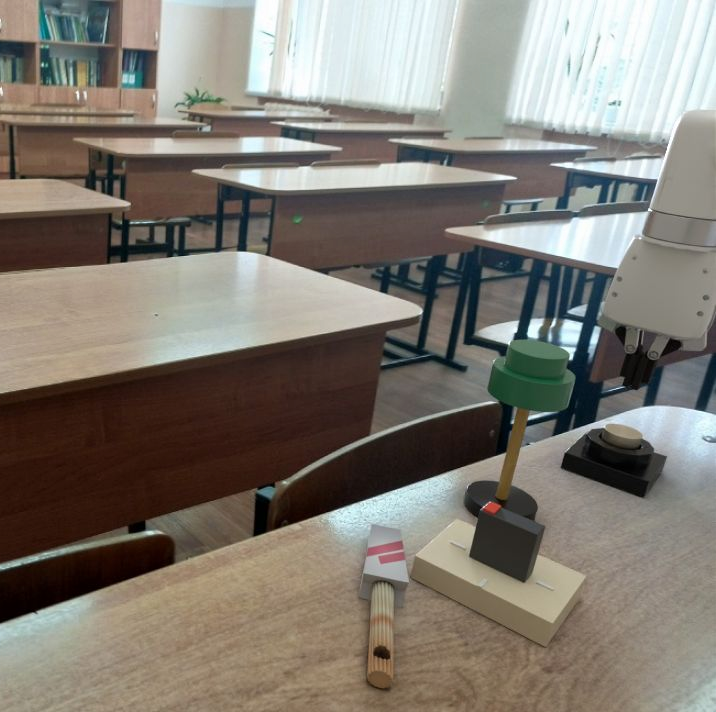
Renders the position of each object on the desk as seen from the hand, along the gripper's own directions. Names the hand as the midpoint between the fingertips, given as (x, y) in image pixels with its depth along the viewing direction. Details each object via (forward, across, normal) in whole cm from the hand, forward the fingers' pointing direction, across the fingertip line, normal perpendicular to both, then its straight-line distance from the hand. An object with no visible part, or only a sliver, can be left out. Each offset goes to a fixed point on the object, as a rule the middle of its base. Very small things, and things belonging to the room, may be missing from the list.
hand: (632, 385), depth 86 cm
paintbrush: (+12, +6, +44) cm, 46 cm away
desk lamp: (+11, +5, +20) cm, 24 cm away
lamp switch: (+11, -1, 0) cm, 11 cm away
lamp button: (+8, -1, 0) cm, 8 cm away
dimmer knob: (+9, 0, +34) cm, 35 cm away
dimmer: (+11, 0, +34) cm, 36 cm away
